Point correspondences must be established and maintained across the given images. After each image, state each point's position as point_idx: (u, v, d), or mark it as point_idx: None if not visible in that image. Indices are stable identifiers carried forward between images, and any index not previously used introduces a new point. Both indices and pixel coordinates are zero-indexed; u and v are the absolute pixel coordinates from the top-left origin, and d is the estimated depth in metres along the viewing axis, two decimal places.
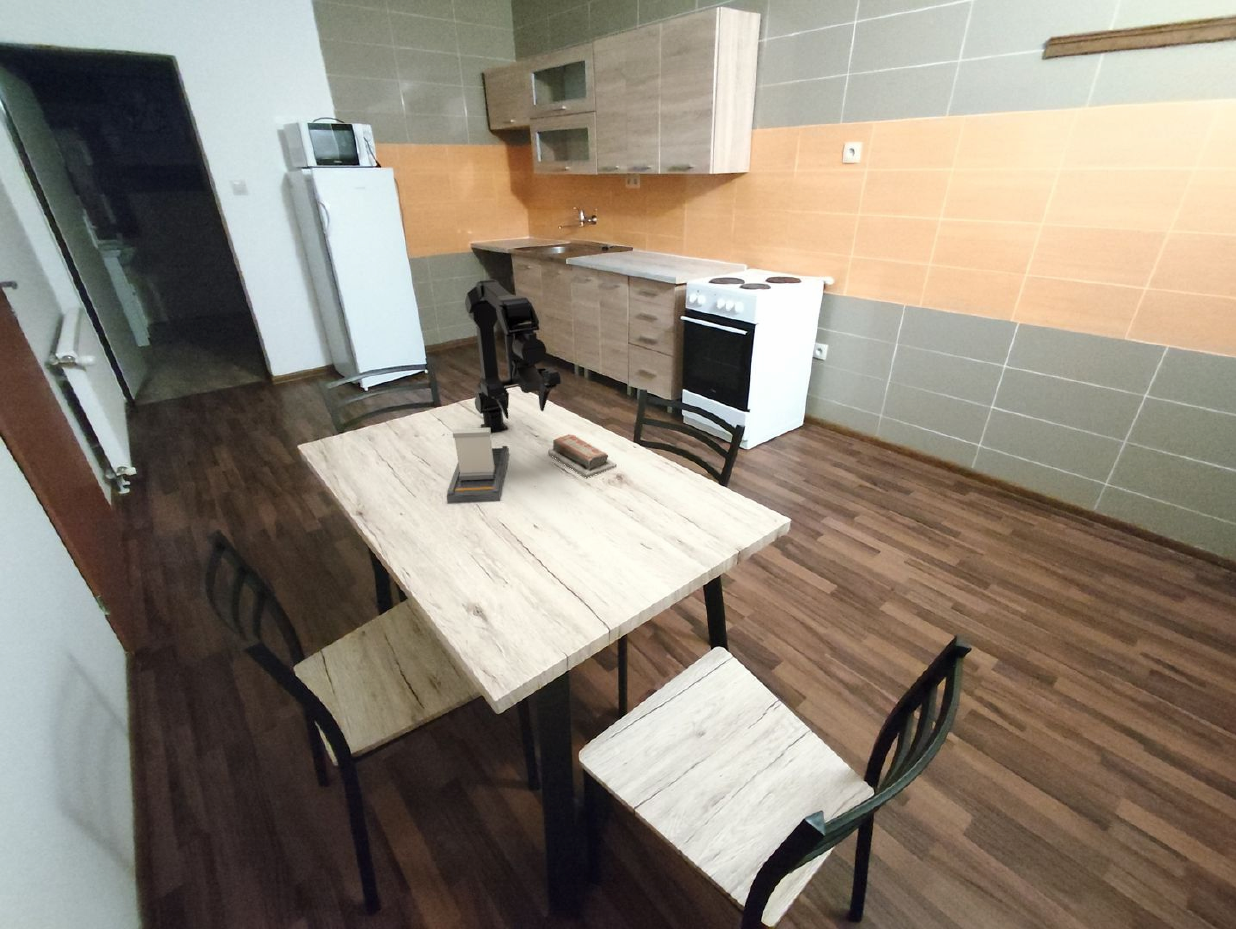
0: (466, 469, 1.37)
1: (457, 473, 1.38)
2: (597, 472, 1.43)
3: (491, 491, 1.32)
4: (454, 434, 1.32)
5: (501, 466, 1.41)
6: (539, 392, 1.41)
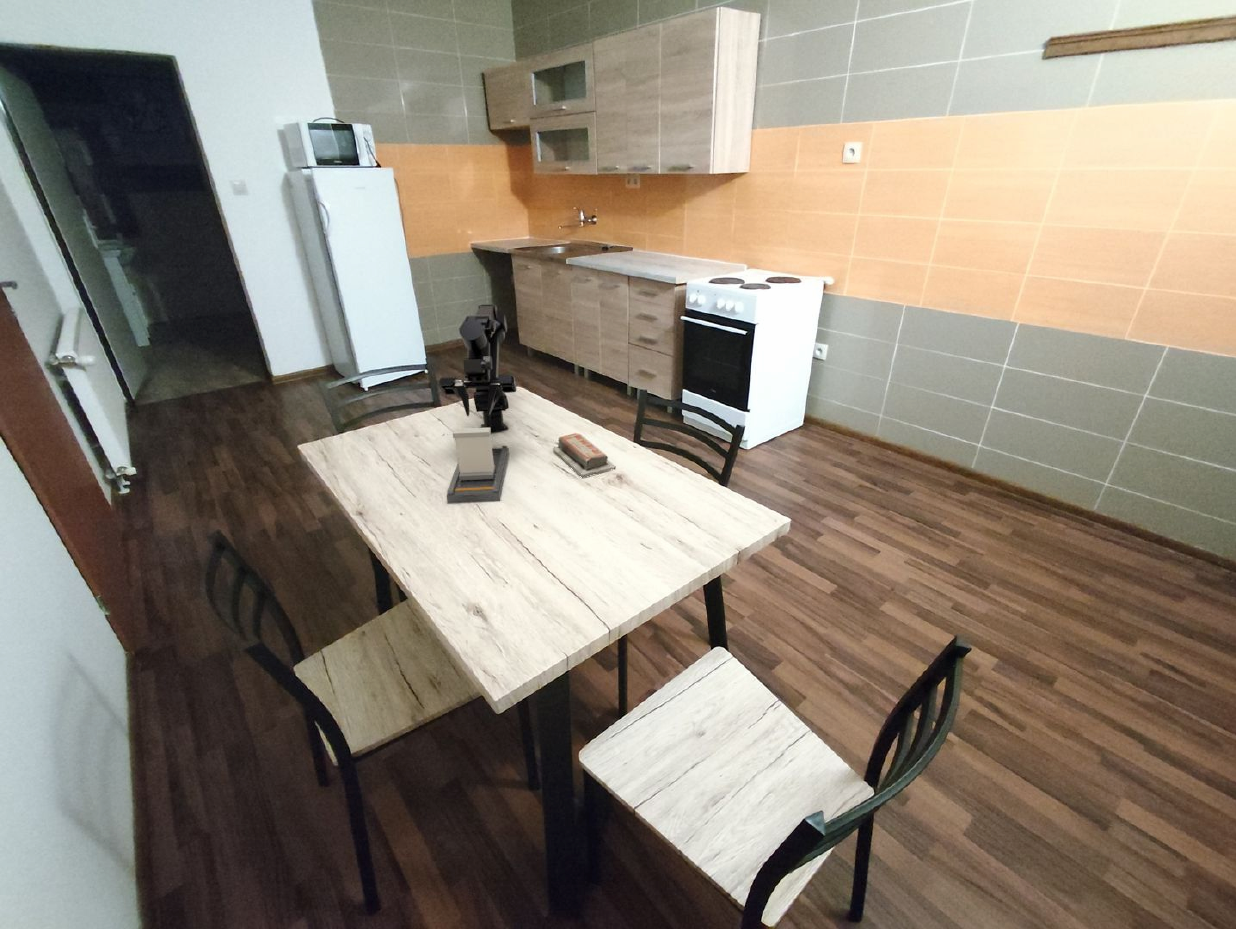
0: (466, 469, 1.37)
1: (457, 473, 1.38)
2: (594, 473, 1.43)
3: (491, 491, 1.32)
4: (454, 434, 1.32)
5: (501, 466, 1.41)
6: None
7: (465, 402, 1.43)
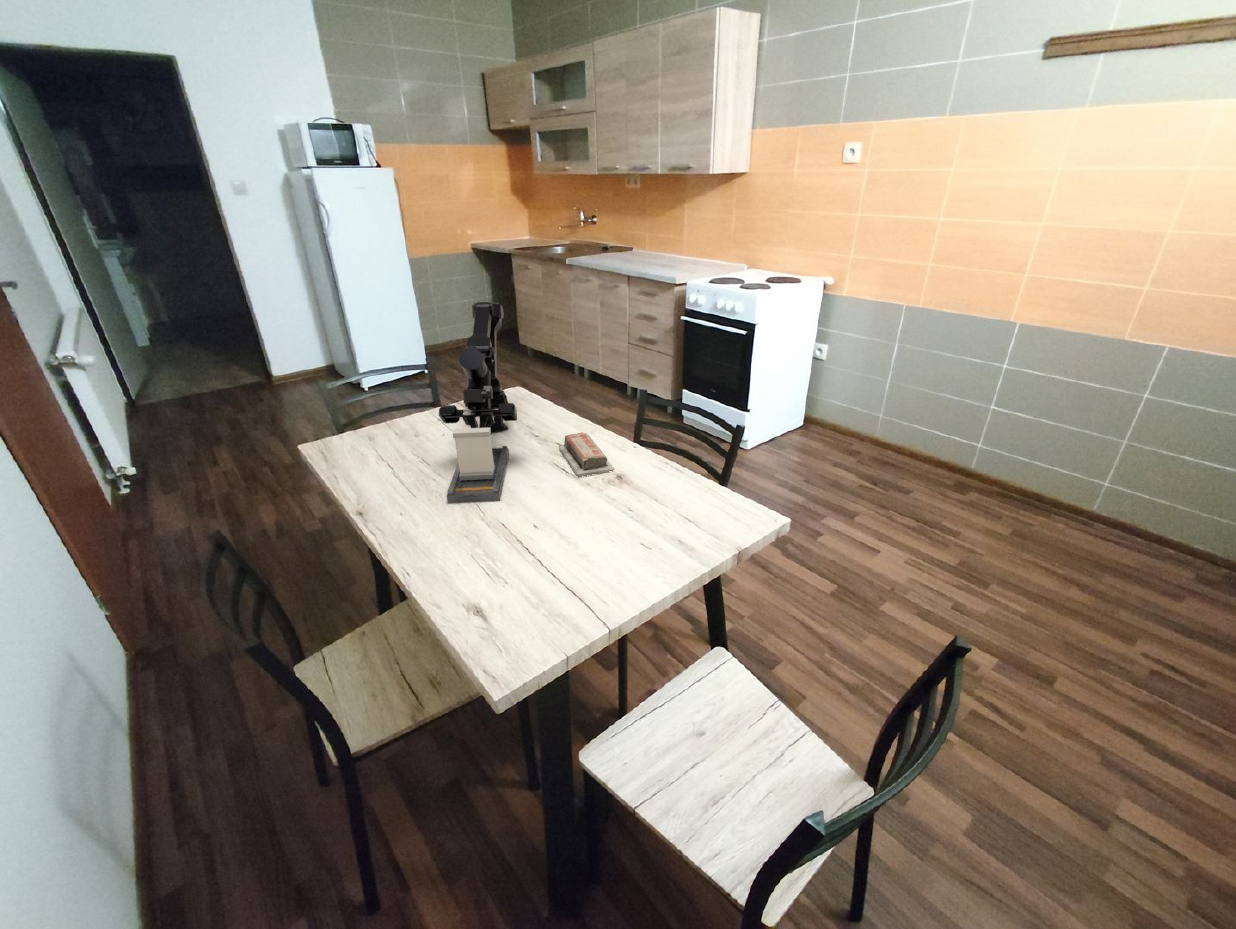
0: (466, 469, 1.37)
1: (457, 473, 1.38)
2: (591, 473, 1.42)
3: (491, 491, 1.32)
4: (454, 434, 1.32)
5: (501, 466, 1.41)
6: None
7: None
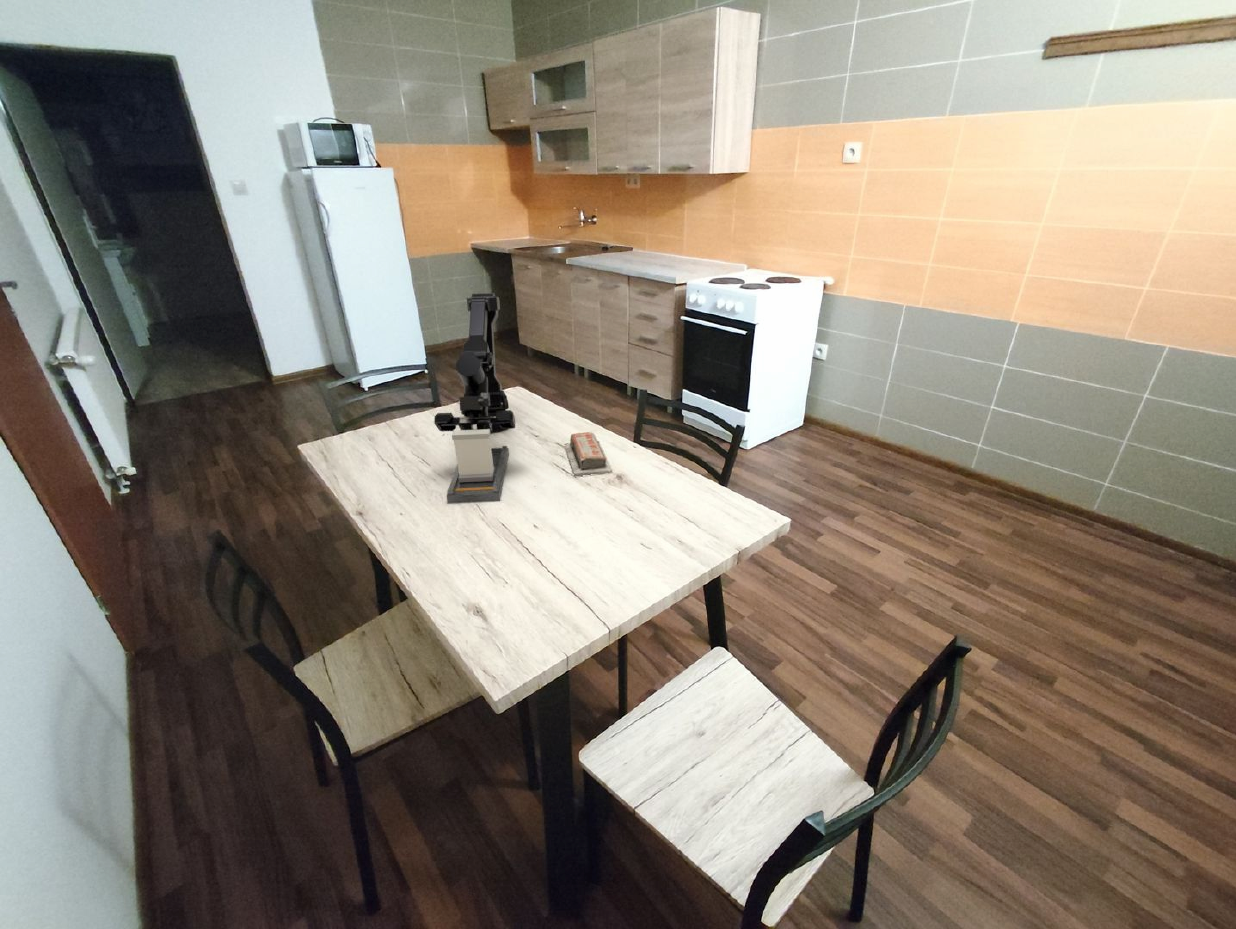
0: (465, 471, 1.36)
1: (457, 473, 1.38)
2: (587, 473, 1.42)
3: (491, 491, 1.32)
4: (453, 436, 1.31)
5: (501, 466, 1.41)
6: None
7: None
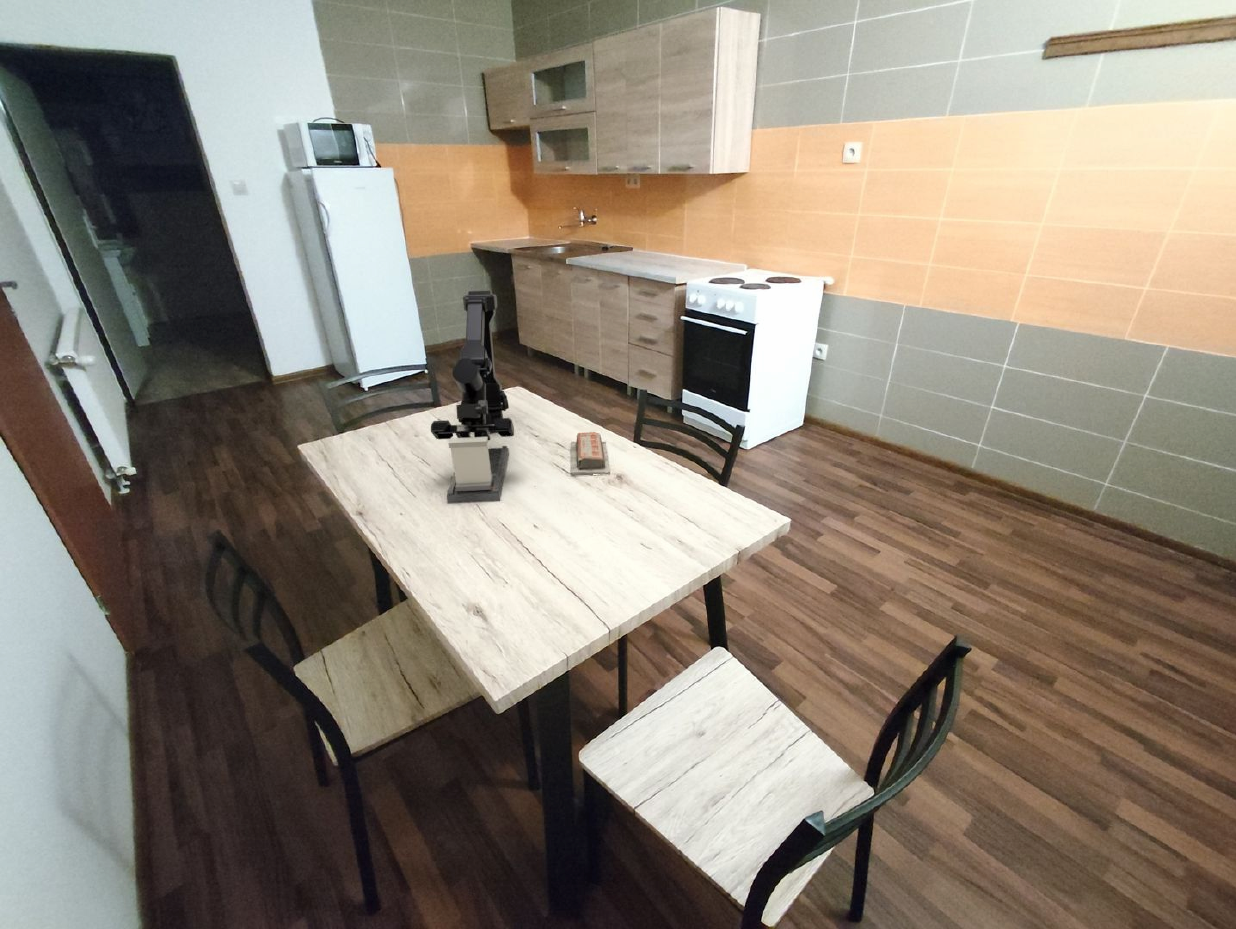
0: (463, 480, 1.32)
1: None
2: (584, 473, 1.42)
3: (491, 491, 1.32)
4: (450, 444, 1.27)
5: (501, 466, 1.41)
6: None
7: None
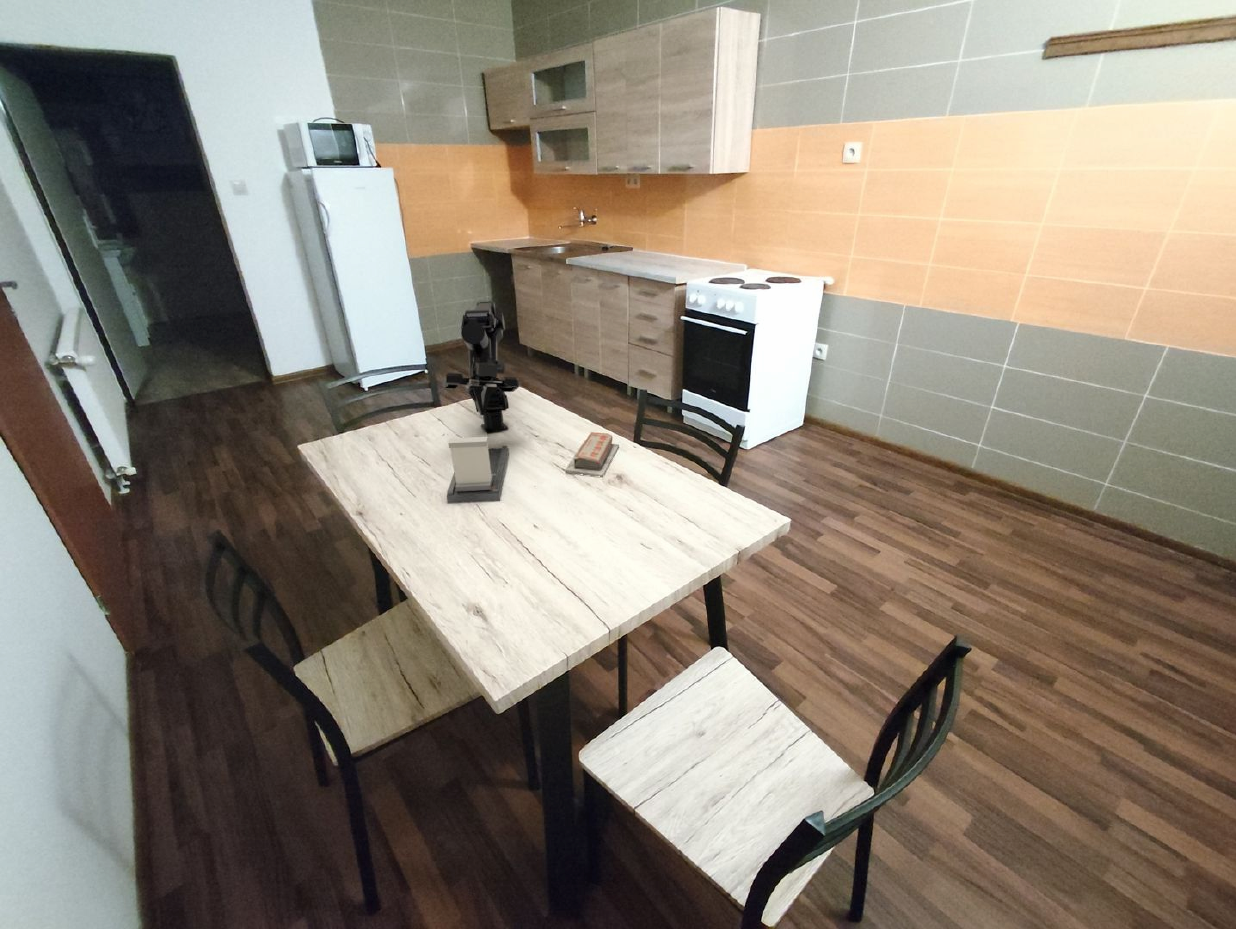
0: (463, 480, 1.32)
1: None
2: (578, 472, 1.43)
3: (491, 491, 1.32)
4: (450, 444, 1.27)
5: (501, 466, 1.41)
6: (482, 399, 1.48)
7: (480, 402, 1.46)
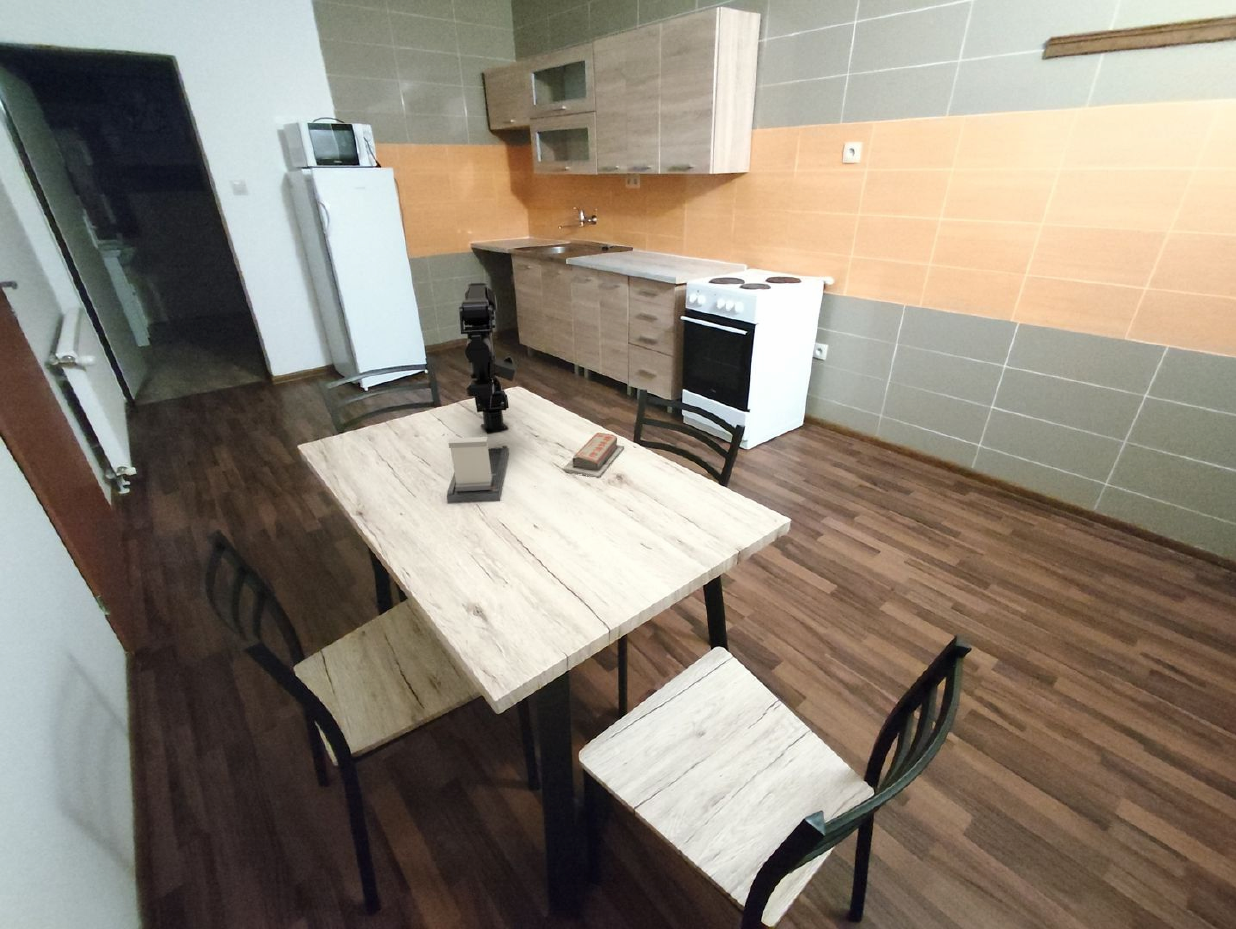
0: (463, 480, 1.32)
1: None
2: (576, 472, 1.43)
3: (491, 491, 1.32)
4: (450, 444, 1.27)
5: (501, 466, 1.41)
6: None
7: (490, 398, 1.48)
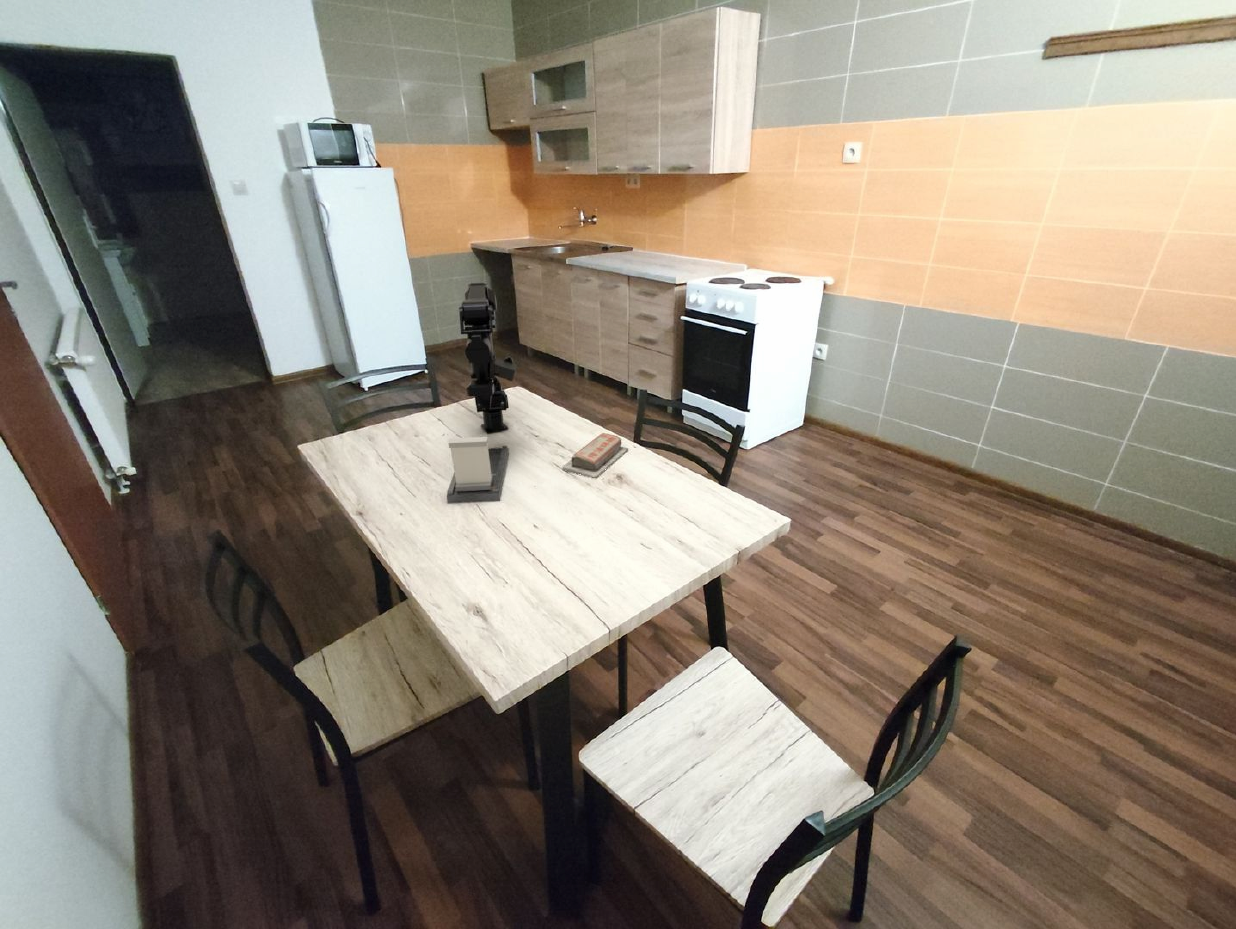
0: (463, 480, 1.32)
1: None
2: (574, 471, 1.43)
3: (491, 491, 1.32)
4: (450, 444, 1.27)
5: (501, 466, 1.41)
6: None
7: (490, 398, 1.48)
